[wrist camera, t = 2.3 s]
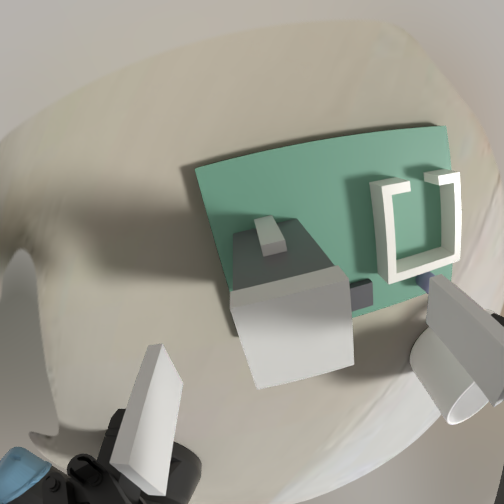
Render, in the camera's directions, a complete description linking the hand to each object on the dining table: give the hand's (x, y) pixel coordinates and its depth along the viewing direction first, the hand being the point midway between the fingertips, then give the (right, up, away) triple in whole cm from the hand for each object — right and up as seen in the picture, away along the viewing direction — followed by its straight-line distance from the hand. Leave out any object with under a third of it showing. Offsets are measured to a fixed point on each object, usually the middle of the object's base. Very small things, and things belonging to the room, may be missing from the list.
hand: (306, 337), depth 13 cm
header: (+12, +7, +10) cm, 17 cm away
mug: (+21, -6, +17) cm, 28 cm away
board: (+6, +6, +11) cm, 14 cm away
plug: (-1, +4, +11) cm, 11 cm away
